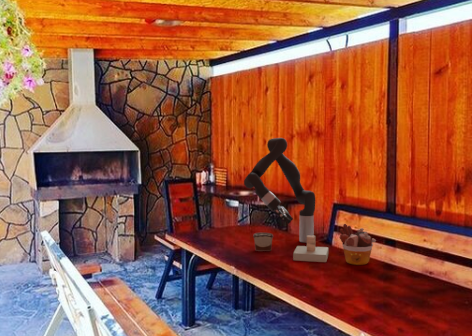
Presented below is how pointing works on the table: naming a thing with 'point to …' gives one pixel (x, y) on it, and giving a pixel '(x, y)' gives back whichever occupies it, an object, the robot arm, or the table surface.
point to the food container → (263, 241)
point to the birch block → (310, 243)
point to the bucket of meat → (356, 245)
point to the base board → (310, 254)
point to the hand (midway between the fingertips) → (290, 221)
